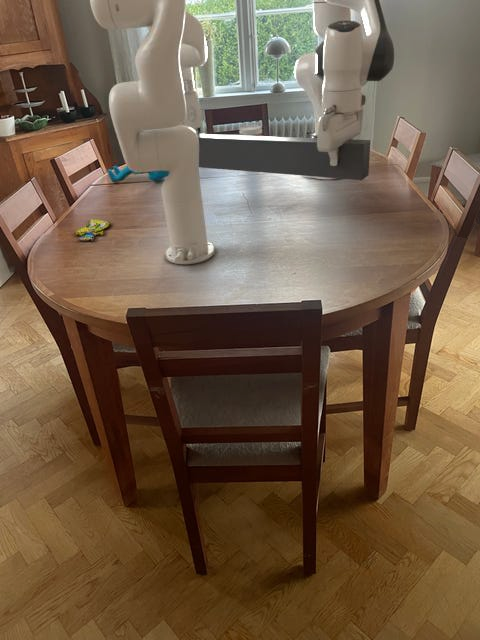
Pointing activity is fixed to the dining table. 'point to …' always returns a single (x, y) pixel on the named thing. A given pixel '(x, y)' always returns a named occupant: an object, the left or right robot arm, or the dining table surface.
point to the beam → (283, 156)
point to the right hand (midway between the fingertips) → (339, 161)
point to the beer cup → (251, 130)
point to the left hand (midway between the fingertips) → (189, 153)
